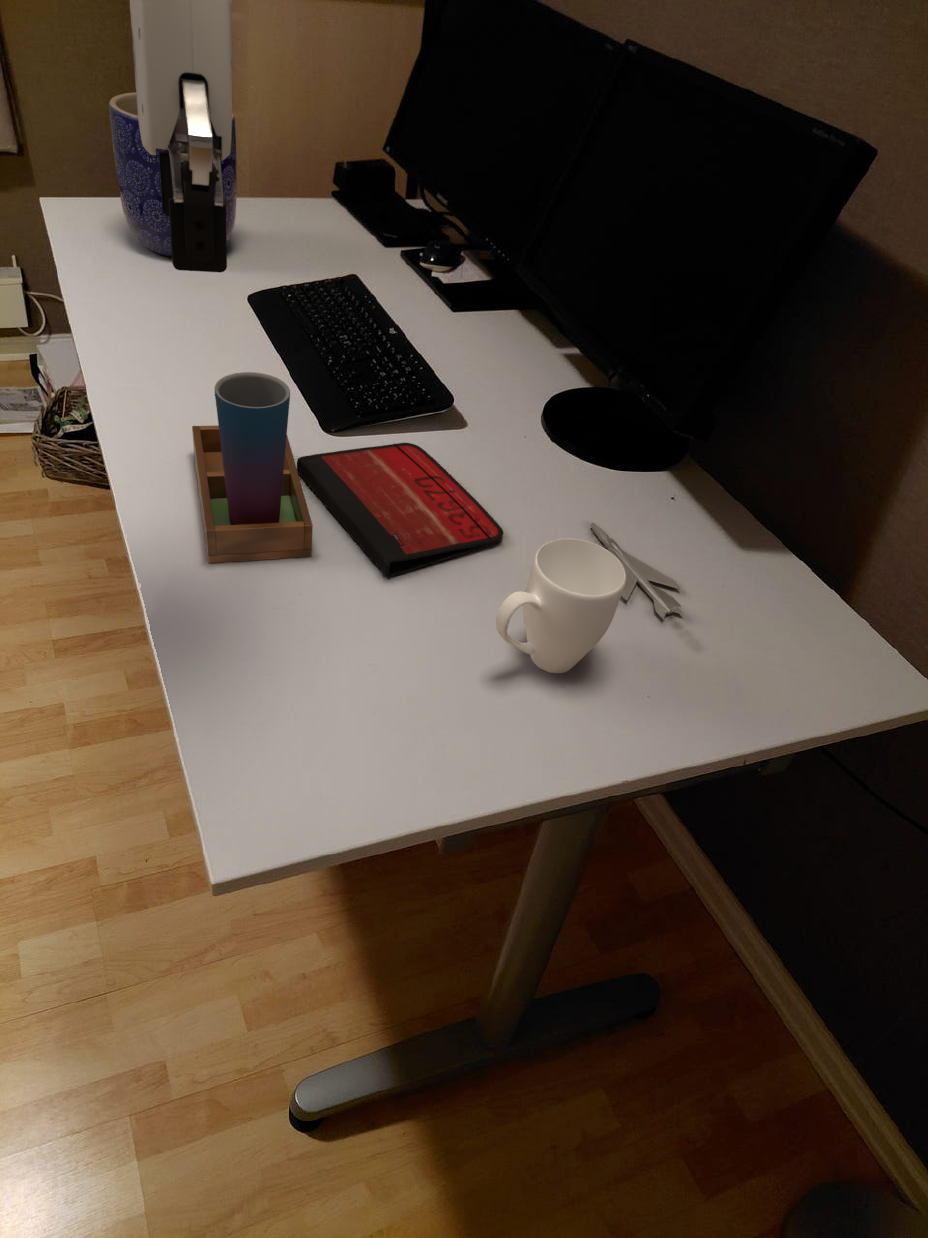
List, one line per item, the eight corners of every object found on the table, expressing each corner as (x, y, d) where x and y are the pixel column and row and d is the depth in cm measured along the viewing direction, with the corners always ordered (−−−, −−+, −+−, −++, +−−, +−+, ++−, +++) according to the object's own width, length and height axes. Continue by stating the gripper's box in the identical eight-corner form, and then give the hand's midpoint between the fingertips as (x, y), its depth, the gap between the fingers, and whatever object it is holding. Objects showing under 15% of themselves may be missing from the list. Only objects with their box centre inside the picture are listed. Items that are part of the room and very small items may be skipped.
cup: (294, 508, 91) (298, 379, 81) (278, 546, 85) (279, 413, 75) (232, 496, 90) (227, 366, 80) (211, 533, 85) (204, 399, 75)
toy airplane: (616, 522, 100) (622, 506, 99) (725, 640, 87) (733, 624, 86) (562, 531, 97) (566, 514, 96) (665, 655, 84) (673, 638, 82)
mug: (560, 619, 86) (588, 528, 78) (611, 674, 81) (646, 583, 73) (461, 652, 80) (481, 558, 72) (509, 713, 75) (536, 618, 67)
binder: (388, 561, 84) (295, 455, 96) (385, 579, 86) (294, 472, 98) (513, 530, 93) (414, 436, 105) (508, 547, 94) (411, 452, 106)
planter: (158, 273, 132) (145, 126, 119) (103, 232, 141) (85, 91, 128) (259, 259, 143) (258, 122, 129) (203, 221, 152) (196, 90, 138)
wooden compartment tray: (208, 563, 84) (206, 531, 81) (194, 456, 97) (192, 425, 94) (311, 556, 87) (312, 525, 84) (283, 453, 100) (284, 424, 98)
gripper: (100, -119, 49) (127, 194, 60) (105, -93, 37) (138, 291, 49) (232, -93, 52) (235, 203, 63) (276, -61, 40) (270, 296, 51)
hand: (193, 241), depth 56 cm, fingers open, 9 cm apart
